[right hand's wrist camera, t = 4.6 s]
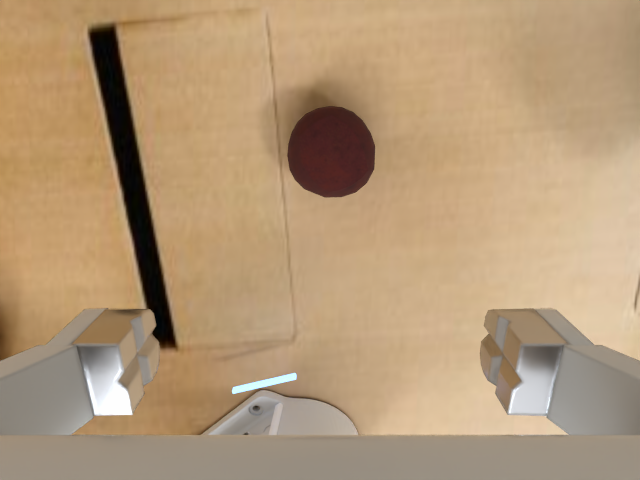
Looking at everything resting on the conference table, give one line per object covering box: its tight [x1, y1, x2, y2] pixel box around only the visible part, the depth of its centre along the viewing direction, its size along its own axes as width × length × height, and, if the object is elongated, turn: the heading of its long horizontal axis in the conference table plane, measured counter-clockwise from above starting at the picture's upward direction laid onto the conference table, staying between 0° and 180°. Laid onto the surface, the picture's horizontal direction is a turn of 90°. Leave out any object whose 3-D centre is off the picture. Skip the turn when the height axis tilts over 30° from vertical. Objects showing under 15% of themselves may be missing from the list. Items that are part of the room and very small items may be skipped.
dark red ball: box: [288, 106, 375, 197], centre depth 35 cm, size 7×8×7 cm
